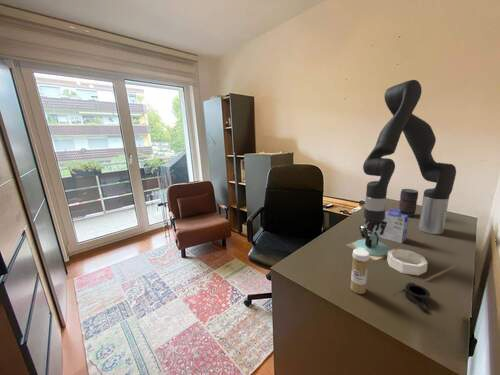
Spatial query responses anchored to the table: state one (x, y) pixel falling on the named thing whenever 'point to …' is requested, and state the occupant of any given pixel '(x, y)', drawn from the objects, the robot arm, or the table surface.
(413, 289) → the duct tape
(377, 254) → the lid
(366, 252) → the sprinkles bottle
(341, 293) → the table surface
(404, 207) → the camera lens
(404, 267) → the bowl
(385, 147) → the robot arm
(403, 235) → the ink cartridge box
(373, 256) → the mat
